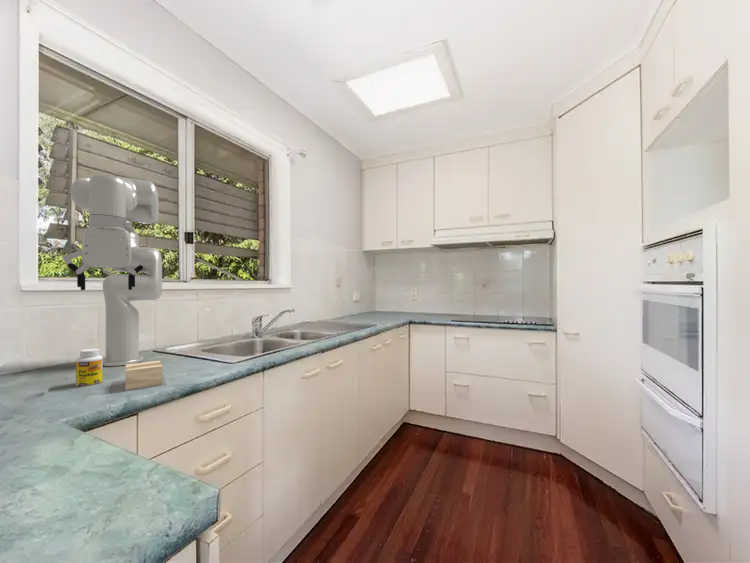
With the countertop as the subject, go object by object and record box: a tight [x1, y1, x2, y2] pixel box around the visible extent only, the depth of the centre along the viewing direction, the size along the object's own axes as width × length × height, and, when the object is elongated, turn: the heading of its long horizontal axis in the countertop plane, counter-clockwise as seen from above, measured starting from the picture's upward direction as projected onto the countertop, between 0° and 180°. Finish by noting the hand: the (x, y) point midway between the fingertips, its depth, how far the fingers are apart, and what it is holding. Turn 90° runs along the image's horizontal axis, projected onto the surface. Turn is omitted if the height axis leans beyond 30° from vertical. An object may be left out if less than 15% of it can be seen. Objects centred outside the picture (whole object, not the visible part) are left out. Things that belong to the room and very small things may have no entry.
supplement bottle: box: [75, 348, 104, 387], centre depth 92 cm, size 6×6×10 cm
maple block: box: [125, 360, 163, 390], centre depth 92 cm, size 8×8×5 cm
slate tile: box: [110, 374, 167, 394], centre depth 93 cm, size 12×12×1 cm
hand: (107, 289), depth 88 cm, fingers open, 9 cm apart
